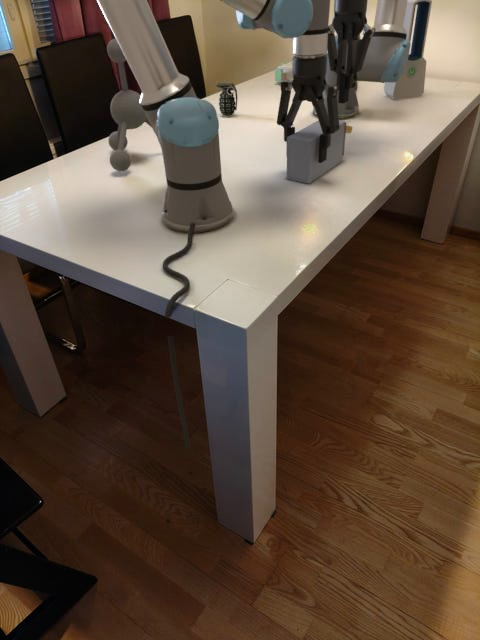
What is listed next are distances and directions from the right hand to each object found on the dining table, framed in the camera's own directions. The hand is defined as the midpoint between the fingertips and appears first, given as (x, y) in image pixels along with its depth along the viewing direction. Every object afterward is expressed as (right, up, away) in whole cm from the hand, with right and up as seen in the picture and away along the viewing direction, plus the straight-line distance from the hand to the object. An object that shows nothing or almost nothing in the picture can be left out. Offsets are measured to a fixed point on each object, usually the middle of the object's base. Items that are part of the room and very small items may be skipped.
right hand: (343, 101), depth 126 cm
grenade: (-31, +15, +43) cm, 55 cm away
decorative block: (0, +46, +82) cm, 94 cm away
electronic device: (+33, +26, +52) cm, 67 cm away
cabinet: (-7, -18, 0) cm, 19 cm away
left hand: (-10, -17, -6) cm, 20 cm away
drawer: (-4, -14, +3) cm, 15 cm away
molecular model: (-54, -10, +14) cm, 57 cm away
